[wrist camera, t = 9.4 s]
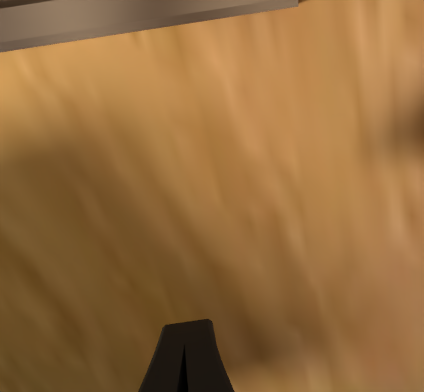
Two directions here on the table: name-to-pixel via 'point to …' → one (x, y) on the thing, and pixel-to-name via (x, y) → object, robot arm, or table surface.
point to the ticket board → (110, 17)
